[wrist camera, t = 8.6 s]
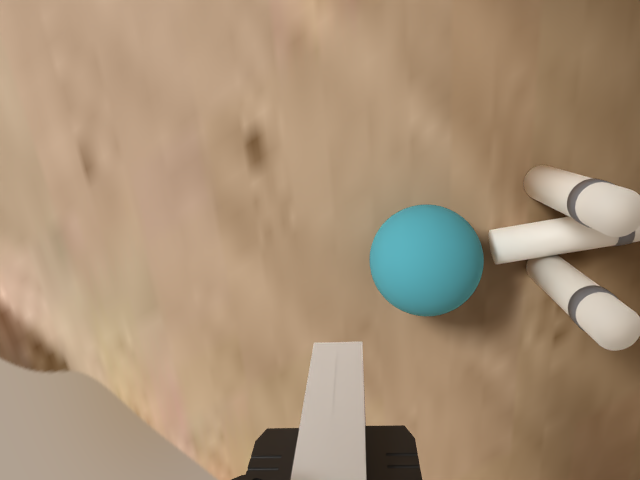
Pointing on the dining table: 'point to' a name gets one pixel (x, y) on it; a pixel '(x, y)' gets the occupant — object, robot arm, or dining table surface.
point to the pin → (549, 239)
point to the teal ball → (426, 260)
